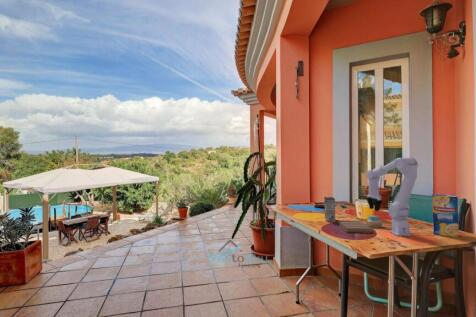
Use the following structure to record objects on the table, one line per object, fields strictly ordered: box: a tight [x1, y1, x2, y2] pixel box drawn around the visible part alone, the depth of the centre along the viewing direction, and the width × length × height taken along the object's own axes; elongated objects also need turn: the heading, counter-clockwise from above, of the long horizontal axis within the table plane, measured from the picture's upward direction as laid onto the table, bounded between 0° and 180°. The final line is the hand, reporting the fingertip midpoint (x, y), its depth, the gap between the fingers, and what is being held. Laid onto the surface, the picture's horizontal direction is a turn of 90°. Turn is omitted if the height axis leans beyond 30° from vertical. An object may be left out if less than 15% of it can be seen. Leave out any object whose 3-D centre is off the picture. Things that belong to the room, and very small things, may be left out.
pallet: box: [365, 218, 383, 228], centre depth 164 cm, size 5×8×4 cm, turn 82°
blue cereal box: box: [431, 193, 460, 238], centre depth 143 cm, size 7×11×22 cm, turn 54°
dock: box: [338, 219, 373, 234], centre depth 160 cm, size 20×14×2 cm
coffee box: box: [323, 196, 336, 222], centre depth 183 cm, size 9×6×16 cm
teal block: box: [368, 214, 380, 221], centre depth 164 cm, size 4×5×2 cm
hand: (374, 209), depth 165 cm, fingers open, 7 cm apart
